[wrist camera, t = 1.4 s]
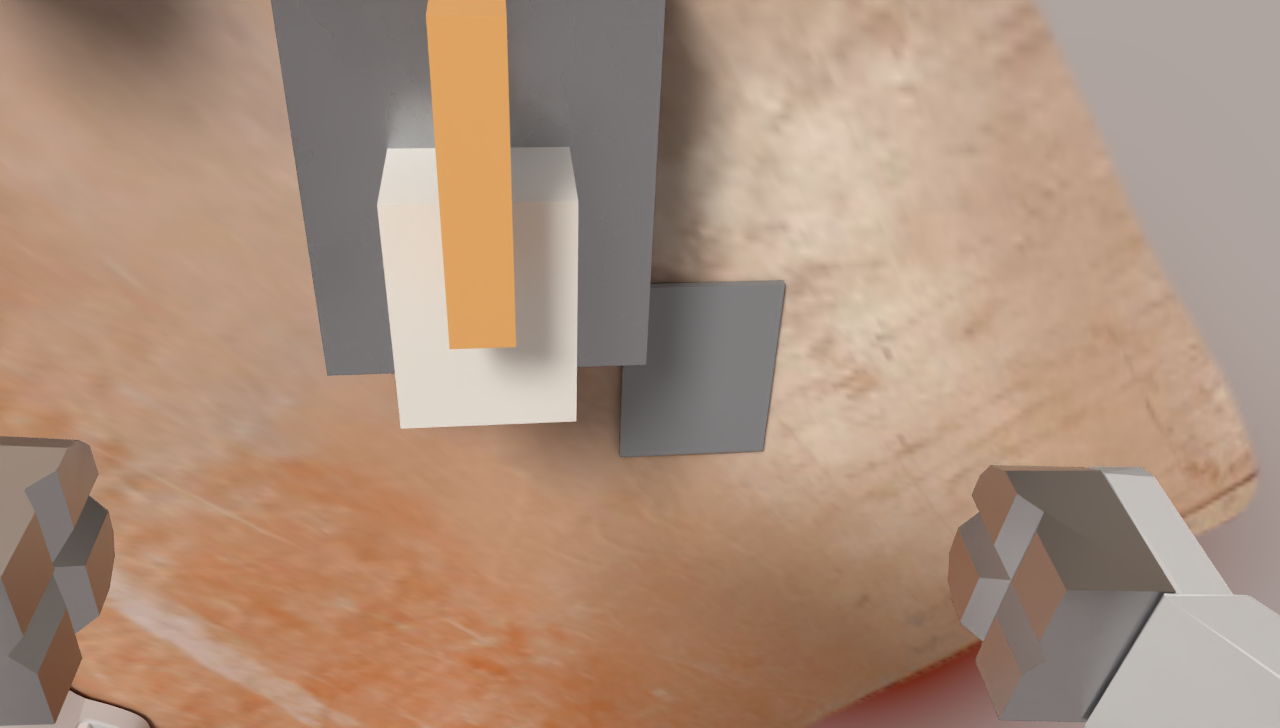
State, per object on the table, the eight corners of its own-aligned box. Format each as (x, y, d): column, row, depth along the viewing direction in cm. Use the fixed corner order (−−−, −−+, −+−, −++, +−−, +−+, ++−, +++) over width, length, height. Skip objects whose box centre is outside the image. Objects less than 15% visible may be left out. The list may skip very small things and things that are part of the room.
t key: (510, 228, 31) (515, 347, 26) (454, 229, 31) (449, 349, 26) (502, -60, 27) (506, 15, 22) (436, -61, 27) (426, 15, 21)
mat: (761, 446, 45) (762, 450, 45) (618, 452, 44) (619, 457, 44) (783, 280, 41) (785, 284, 40) (625, 284, 40) (626, 288, 40)
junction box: (625, 272, 40) (646, 364, 35) (347, 279, 38) (327, 375, 33) (640, -106, 32) (668, -58, 27) (296, -113, 31) (261, -63, 26)
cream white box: (568, 354, 34) (576, 421, 31) (408, 359, 33) (401, 428, 31) (569, 147, 30) (578, 201, 27) (387, 148, 29) (376, 205, 27)
